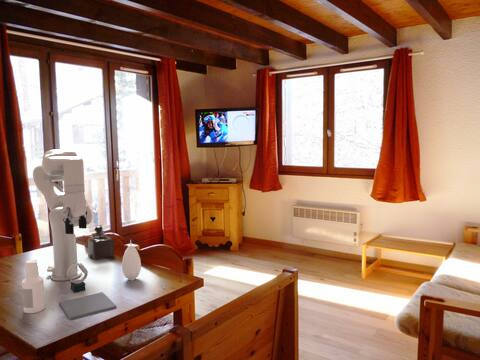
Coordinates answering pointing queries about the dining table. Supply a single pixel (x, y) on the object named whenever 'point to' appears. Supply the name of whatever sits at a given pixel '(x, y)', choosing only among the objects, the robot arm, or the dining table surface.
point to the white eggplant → (131, 263)
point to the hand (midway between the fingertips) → (76, 230)
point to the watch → (78, 284)
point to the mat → (86, 305)
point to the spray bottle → (33, 289)
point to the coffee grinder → (100, 245)
